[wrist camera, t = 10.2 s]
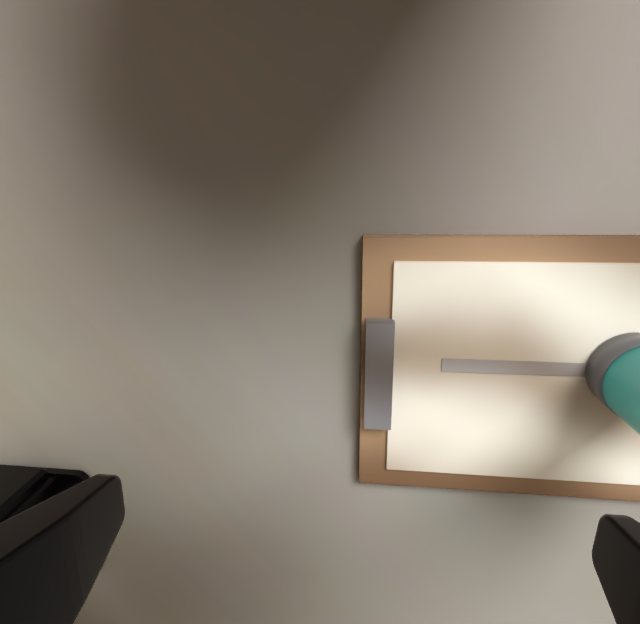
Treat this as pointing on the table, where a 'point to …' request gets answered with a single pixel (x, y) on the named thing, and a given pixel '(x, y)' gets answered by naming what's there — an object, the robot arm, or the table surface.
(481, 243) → the clipboard
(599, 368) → the marker
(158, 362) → the table surface
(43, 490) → the robot arm
